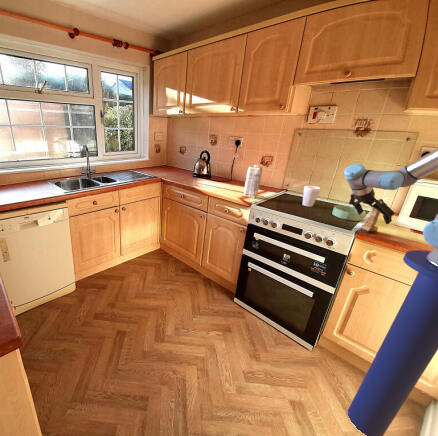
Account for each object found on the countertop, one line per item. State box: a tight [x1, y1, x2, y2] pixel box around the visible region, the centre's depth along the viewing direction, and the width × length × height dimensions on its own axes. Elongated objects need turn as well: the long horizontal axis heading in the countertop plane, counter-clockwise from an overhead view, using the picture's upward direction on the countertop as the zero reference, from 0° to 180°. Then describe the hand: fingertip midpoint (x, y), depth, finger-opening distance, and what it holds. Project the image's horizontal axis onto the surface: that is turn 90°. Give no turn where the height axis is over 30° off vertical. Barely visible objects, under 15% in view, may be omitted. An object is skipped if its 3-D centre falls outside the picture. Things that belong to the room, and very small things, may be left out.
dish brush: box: [359, 207, 381, 234], centre depth 127 cm, size 6×4×15 cm, turn 103°
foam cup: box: [301, 185, 322, 208], centre depth 168 cm, size 10×9×13 cm
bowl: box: [331, 204, 367, 222], centre depth 149 cm, size 15×16×5 cm
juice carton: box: [243, 164, 263, 199], centre depth 183 cm, size 9×8×24 cm
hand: (374, 217), depth 128 cm, fingers open, 13 cm apart
